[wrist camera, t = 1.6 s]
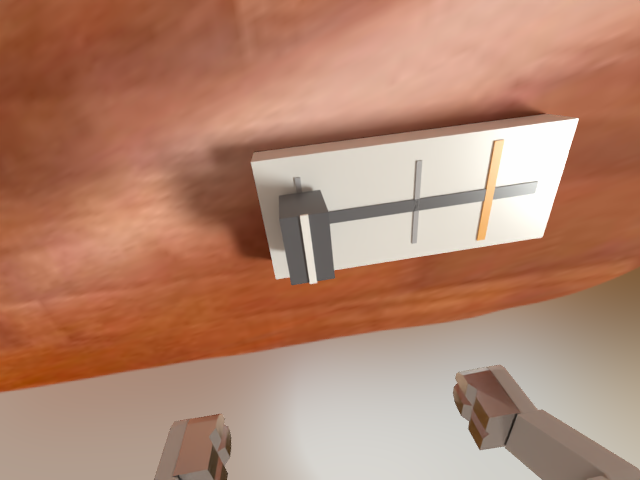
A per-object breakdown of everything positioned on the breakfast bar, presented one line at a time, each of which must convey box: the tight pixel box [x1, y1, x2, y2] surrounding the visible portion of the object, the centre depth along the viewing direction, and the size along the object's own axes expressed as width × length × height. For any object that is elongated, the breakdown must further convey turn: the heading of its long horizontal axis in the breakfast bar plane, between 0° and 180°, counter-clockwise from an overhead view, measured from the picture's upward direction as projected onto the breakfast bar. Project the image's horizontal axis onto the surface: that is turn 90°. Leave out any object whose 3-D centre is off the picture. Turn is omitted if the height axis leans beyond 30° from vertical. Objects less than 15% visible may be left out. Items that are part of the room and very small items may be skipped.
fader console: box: [251, 114, 579, 279], centre depth 25 cm, size 24×10×3 cm, turn 96°
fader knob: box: [279, 190, 335, 285], centre depth 21 cm, size 3×5×4 cm, turn 6°
